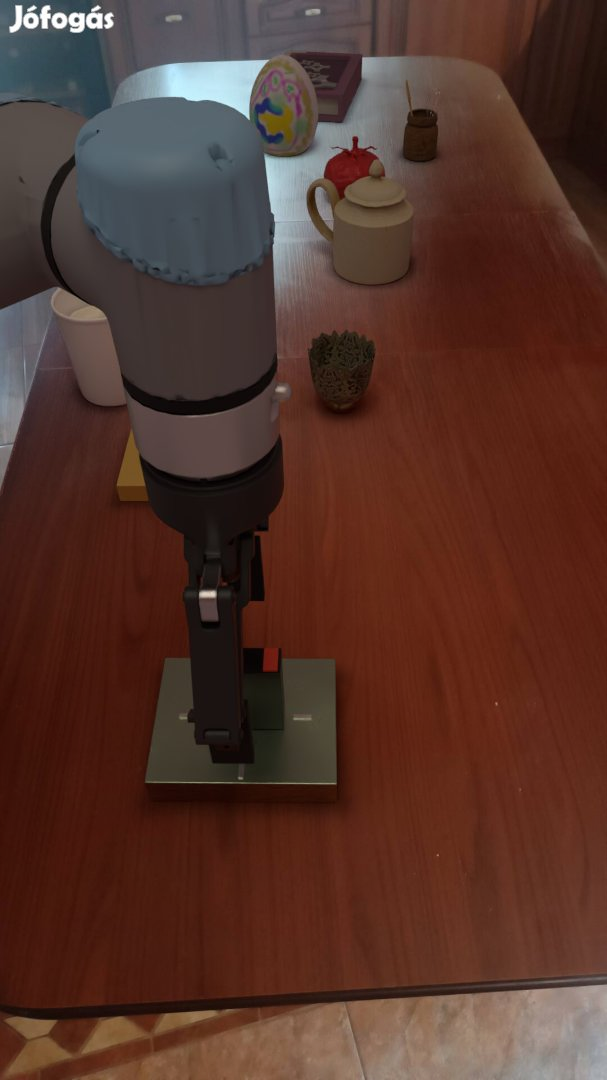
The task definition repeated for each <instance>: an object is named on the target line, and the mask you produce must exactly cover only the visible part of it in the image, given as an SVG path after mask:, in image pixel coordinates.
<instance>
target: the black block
mask: <svg viewBox="0 0 607 1080" xmlns="http://www.w3.org/2000/svg"><path fill="white" fill-rule="evenodd" d="M282 650H283V649H282V647H243V679H244V699H248V706H249V714H250V722H251V729H284V711H285V700H284V683H283V667H282V658H283V654H282V653H283V651H282Z"/></svg>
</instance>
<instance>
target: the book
mask: <svg viewBox="0 0 607 1080" xmlns="http://www.w3.org/2000/svg"><path fill="white" fill-rule="evenodd" d="M283 55H287V56H290V57H292V58H294V59H295V60H296V61H297V62H299V64H300V65H301V66H302V67H303V68H304V69H305V71H306V72H307V74H308V76H309V78H310V80H311V82H312V84H313V87H314V90H315V93H316V98H317V103H318V122H329V123H343V122H344V120H345V118H346V115H347V113H348V111H349V108H350V106H351V104H352V102H353V100H354V98H355V95H356V94H357V91H358V88H359V86H360V84H361V83H362V79H363V53H348V52H347V53H345V52H327V51H325V52H324V51H308V50H298V49H297V50H296V49H287V50H286V51H285V52H284V54H283Z"/></svg>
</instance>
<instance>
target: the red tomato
mask: <svg viewBox="0 0 607 1080" xmlns="http://www.w3.org/2000/svg"><path fill="white" fill-rule="evenodd" d="M351 141H352V148H351V149H348V148H343V147H340V146H334V147H332V146H330V149H331V150H334V149H340V150H342V151H340V152H338V153H337V154H336V155H334V156H332V157H331V158H330V159H329V160H328V161H327V162H326V164H325V166H324V170H323V178H325V179H328V180H330V181H331V182H332V183H333V184H334V185H335V187H336V189H337V191H338V194H339V199H340V200H342V199H343V198H345V194H344V191H345V189H346V187H347V186H349V185H351V184H353V183H354V182H355V181H357V180H358V179H361V178H364V177H368V176H371V175H370V174H369V168H370V166H371V164H372V162H373V161H374V160H376V159H378V160H379V161H380V158H379V157H378V156H377V155H376V154H374V153H373V152H372V151H369V150H370V149H372V150H374V151H376V150H377V149H378V147H376V148H375V147H374V146H372V145H370V146H368V147H364V148H363V147H359V136H358V135H354V136H352V139H351ZM381 164H382V166H383V170H384V172H383V174H382V176H381V177H386V170H385V169H386V168H385V166H384V164H383V162H381Z"/></svg>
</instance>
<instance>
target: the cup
mask: <svg viewBox="0 0 607 1080" xmlns="http://www.w3.org/2000/svg"><path fill="white" fill-rule="evenodd" d="M359 336H360V335H359V334H358V332H357V331H352V332H349V330H348V329H345V330H344V331H343V332H342V333H340V335H339V333H338V332H337V331H336V330H335V329H334V330H333V331H332V332H331V334H329V333H325V332H320V333H319V334H318V336H317V337H316V338H314V337H313V338H312V339H311V348H309V347H307V355H308V363H309V369H310V376H311V381H312V384H313V388H314V389H315V392H316V393H317V395H318V396H319V397H320V398H321V399H322V400H323V401H324V404H325V406H326V408H327V409H328V411H330V412H332V413H334V414H346V413H349V412H351V411H352V410H353V409H354V408H355V407H356V404H357V401H358V400H359V399H361V398H362V397H363V396H364V394H365V393H366V392H367V389H368V388H369V385H370V381H371V377H372V371H373V367H374V362H375V358H376V357H375V356H376V352H377V348H376V347H375V346H376V344H375V341H374V340H373V339H370V340H368V339H367V336H366V334H362V335H361V336H360V337H359ZM367 340H368V341H367Z"/></svg>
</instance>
